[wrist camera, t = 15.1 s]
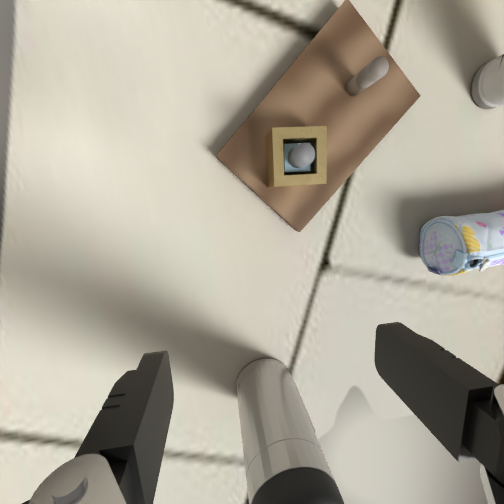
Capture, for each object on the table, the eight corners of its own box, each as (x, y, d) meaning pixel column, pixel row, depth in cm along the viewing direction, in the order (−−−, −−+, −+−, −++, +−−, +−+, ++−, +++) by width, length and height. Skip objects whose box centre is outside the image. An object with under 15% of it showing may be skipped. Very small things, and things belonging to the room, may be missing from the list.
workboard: (409, 101, 36) (458, 77, 29) (295, 230, 38) (314, 238, 30) (339, 9, 32) (375, -45, 25) (216, 157, 34) (216, 147, 27)
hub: (302, 147, 33) (318, 138, 28) (302, 172, 34) (318, 168, 29) (278, 148, 33) (290, 139, 28) (279, 174, 34) (290, 170, 28)
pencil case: (410, 268, 42) (465, 288, 33) (412, 215, 40) (471, 221, 31) (521, 249, 44) (601, 264, 35) (528, 198, 42) (615, 200, 33)
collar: (313, 133, 33) (326, 125, 29) (314, 184, 35) (326, 183, 31) (265, 135, 32) (272, 127, 28) (267, 187, 34) (274, 186, 30)
